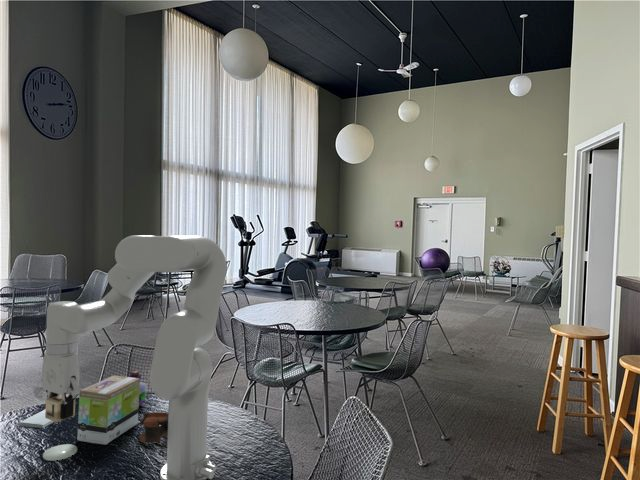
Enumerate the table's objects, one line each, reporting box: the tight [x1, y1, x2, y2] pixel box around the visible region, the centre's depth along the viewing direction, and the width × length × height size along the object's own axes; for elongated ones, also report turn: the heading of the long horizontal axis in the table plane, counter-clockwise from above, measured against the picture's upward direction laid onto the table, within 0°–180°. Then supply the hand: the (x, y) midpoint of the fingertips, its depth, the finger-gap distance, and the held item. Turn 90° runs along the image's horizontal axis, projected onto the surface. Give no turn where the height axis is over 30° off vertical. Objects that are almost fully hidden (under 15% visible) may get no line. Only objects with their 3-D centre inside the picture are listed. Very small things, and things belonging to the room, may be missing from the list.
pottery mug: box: [139, 411, 168, 443], centre depth 131 cm, size 12×10×8 cm
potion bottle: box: [127, 370, 148, 407], centre depth 153 cm, size 9×9×12 cm
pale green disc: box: [42, 443, 78, 462], centre depth 120 cm, size 8×8×1 cm
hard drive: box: [18, 408, 56, 429], centre depth 141 cm, size 2×8×12 cm
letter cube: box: [45, 394, 76, 423], centre depth 120 cm, size 5×5×5 cm
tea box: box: [76, 375, 141, 446], centre depth 133 cm, size 15×10×15 cm, turn 168°
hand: (60, 414), depth 120 cm, fingers closed on letter cube, 5 cm apart
